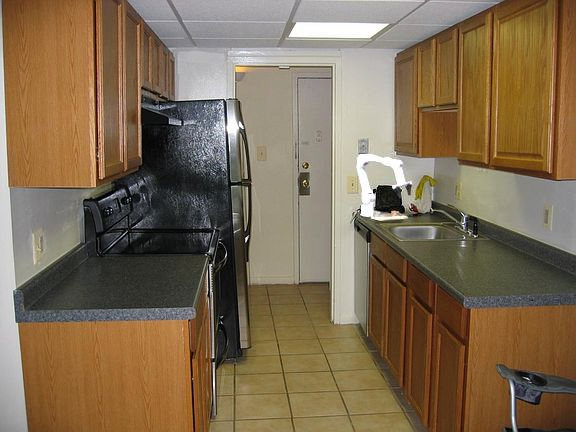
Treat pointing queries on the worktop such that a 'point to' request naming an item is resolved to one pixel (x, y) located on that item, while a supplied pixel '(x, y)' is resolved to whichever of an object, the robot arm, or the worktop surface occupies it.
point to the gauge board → (386, 216)
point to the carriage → (395, 213)
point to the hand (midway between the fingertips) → (405, 196)
